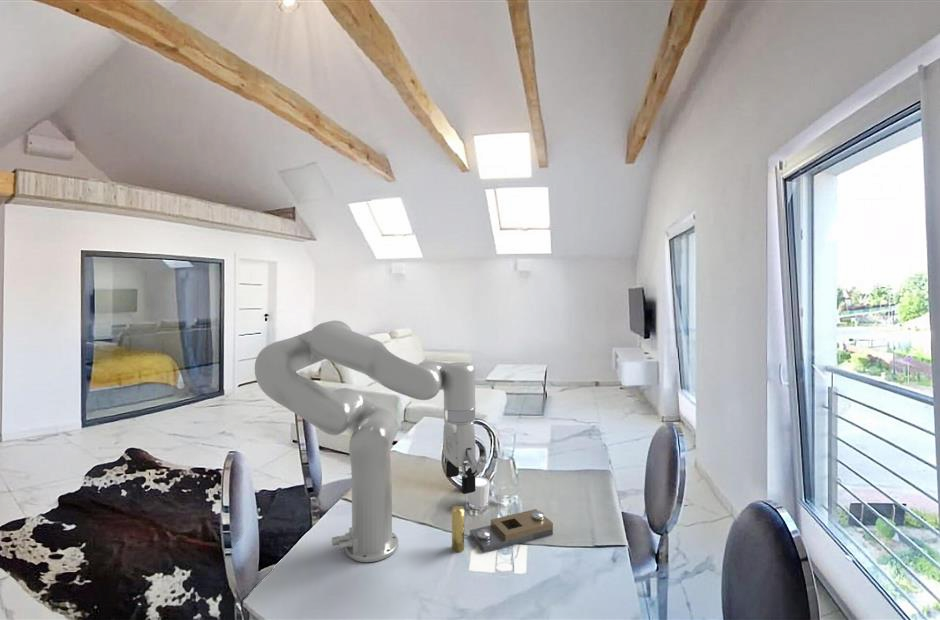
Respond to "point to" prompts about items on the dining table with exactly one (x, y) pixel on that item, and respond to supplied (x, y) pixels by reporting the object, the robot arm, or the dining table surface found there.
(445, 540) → the dining table surface
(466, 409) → the robot arm
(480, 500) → the white pillar candle
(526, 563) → the dining table surface
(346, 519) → the dining table surface
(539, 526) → the bolted fixture plate
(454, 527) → the brass pin
